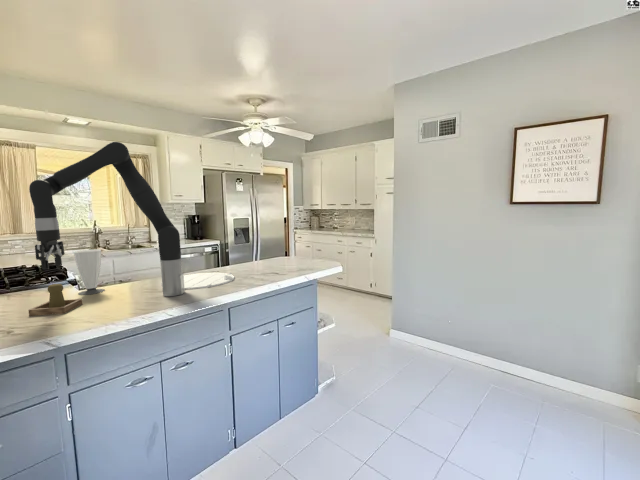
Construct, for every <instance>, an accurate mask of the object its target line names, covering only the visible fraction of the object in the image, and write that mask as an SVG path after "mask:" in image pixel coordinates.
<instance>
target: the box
mask: <svg viewBox="0 0 640 480" xmlns="http://www.w3.org/2000/svg"><path fill="white" fill-rule="evenodd" d="M64 300H65V304H66V306H64V307H55V308H49V300H48V301H46V302H44V303H41V304H39V305H36V306H33V308H30V309H28V316H29V317H33V316H34V317H35V316H50V315H61V314H62V315H63V314H67V313H68V312H71V311H72V310H74V309H76V308H79V307H80V306H82V305H83V298H73V299H71V298H70V299H64Z"/></svg>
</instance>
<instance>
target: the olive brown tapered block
mask: <svg viewBox="0 0 640 480" xmlns="http://www.w3.org/2000/svg"><path fill="white" fill-rule="evenodd" d="M63 291H64V285H63V284H62V283H54V284H50V285H48V287H47V292H48V293H49V300H48V301H49V308H55V307H64V306H66V304H65V300H66V299H65V297H64V294H63Z"/></svg>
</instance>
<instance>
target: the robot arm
mask: <svg viewBox="0 0 640 480" xmlns="http://www.w3.org/2000/svg"><path fill="white" fill-rule="evenodd" d="M109 165H112V166H113V167H114V169H115V170H116V171H117V172H118V174H119V175H120V177H121V179H122V180H123V182H124V185H125V187H126V189H127V191H128V193H129V195H130V197H131V198H132V199H133V201H134V202H135V204H136V206H137V207H138V208H139V209H140V210H141V212H142V213H143V214H144V216H146V218H147V219H148V220H149V221H150V222H151V224H152V225H153V228H154V229H155V231H156V234H157V241H158V252H159V253H158V255H159V258H160V259H159V260H160V261H159V262H160V274H161V283H162V285H161V287H162V295H163V296H164V297H177V296H180V295H181V296H182V295H183V294H184V293H185V291H186V289H185V288H184V275H185V274H184V272H183V268H182V267H183V266H182V265H183V263H182V251H181V249H182V248H181V239H180V237H181V236H180V235H181V234H180V232H179V230H178V229H177V228H176V227H175V225H174V224H173V222H171V220H170V219H169V217H168V216H167V214H166V212H165V211H164V209H163V206H162V204H161V202H160V200H159V198H158V196H157V195H156V193H155V192H154V190H153V187H152V186H151V185H150V184H149V183H148V181H147V180H146V179H145V177H143V175H142V174H141V173H140V172H139V171H138V169H137V167H136V166H135V164H134V162H133V160H132V158H131V155H130V152H129V149H128V147H127V146H126V144H124V143H122V142H119V141H111V142H109V143H107V144H106V145H104V146H103V147H102V148H100V149H99V150H98V151H96V152H94V153H93V154H91V155H89V156H87V157H86V158H83V159H81V160H79V161H77V162H75V163H72V164H70V165H68V166H66V167H64V168H62V169H60V170H56V172H54V173H53V175H50V176H48V177H47V178H45V179H35V180H33V181H32V182H31V183H30V184H29V188H28V189H29V196H30V199H31V203H32V205H33V213H34V214H33V215H34V227H35V228H34V229H35V234H36V241H37V242H40V244H35V245H34V250H35V251H34V252H35V253H34V254H35V259H36V260H38V261H39V262H40V263H41V270H43V271H45V270H49V269H50V265H49V257H50V256H51V255H53V257H54V264H55V266H56V267H60V266H62V265H63V261H62V258H63V255H65V249H64V243H63V241H59V240H61V234H60V225H59V224H60V223H59V221H58V215H57V214H58V213H57V209H56V206H55V204H54V201H53V196H55V195H57V194H58V193H59V192H62V191H63V190H65V189H66V188H68V187H71V186H73V185H75V184H77V183H79V182H81V181H83V180H85V179H86V178H88V177H90V176H91V175H93V174H94V173H96V172H97V171H99V170H100V169H102V168H104V167H105V168H106V167H107V166H109Z"/></svg>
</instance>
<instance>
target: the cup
mask: <svg viewBox="0 0 640 480" xmlns="http://www.w3.org/2000/svg"><path fill="white" fill-rule="evenodd" d="M73 256H74V259H75V263H76V267H77V270H78V274H79V275H80V279H81V281H82V283H83V286H84V288H85V289H86V290H83V291H81V292H78V293H77V294H78V295H79V296H88V295H90V296H92V295H96V294H101V293H103V291H104V292H105V291H106V290H105V289H103V288H97V287H98V283H99V278H100V274H101V273H100V272H101V263H102V261H101V260H102V259H101V258H102V249H101V248H96V249H94V248H92V249H82V250H81V249H79V250H74V251H73ZM100 292H101V293H100Z"/></svg>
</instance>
